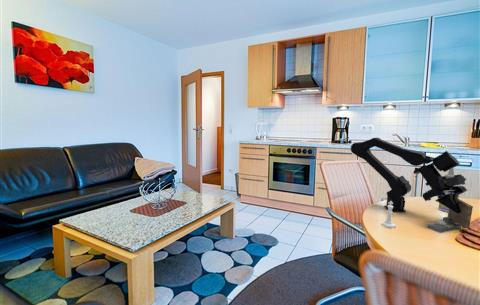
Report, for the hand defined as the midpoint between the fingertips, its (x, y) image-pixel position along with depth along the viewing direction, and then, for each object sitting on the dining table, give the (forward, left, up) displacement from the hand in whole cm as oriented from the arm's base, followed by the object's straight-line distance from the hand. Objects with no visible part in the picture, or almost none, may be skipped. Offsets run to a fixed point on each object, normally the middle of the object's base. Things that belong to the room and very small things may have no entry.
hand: (459, 212), depth 96 cm
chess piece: (-25, +2, -7) cm, 27 cm away
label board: (-2, +3, -7) cm, 8 cm away
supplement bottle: (+14, +20, -7) cm, 25 cm away
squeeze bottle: (+24, +32, -7) cm, 41 cm away
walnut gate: (+3, +3, -5) cm, 6 cm away
